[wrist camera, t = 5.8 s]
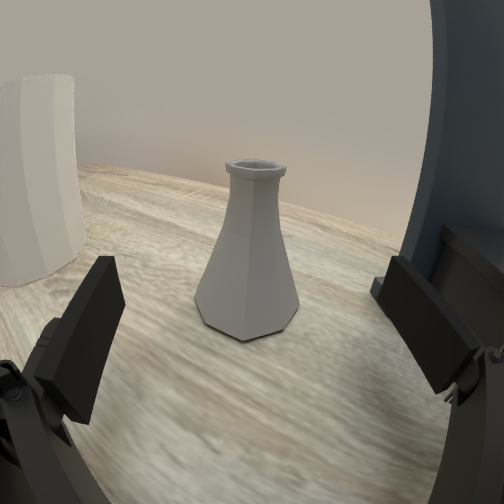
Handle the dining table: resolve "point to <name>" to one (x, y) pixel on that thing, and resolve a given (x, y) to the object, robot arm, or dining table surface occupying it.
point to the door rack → (463, 169)
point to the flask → (249, 258)
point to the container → (38, 179)
